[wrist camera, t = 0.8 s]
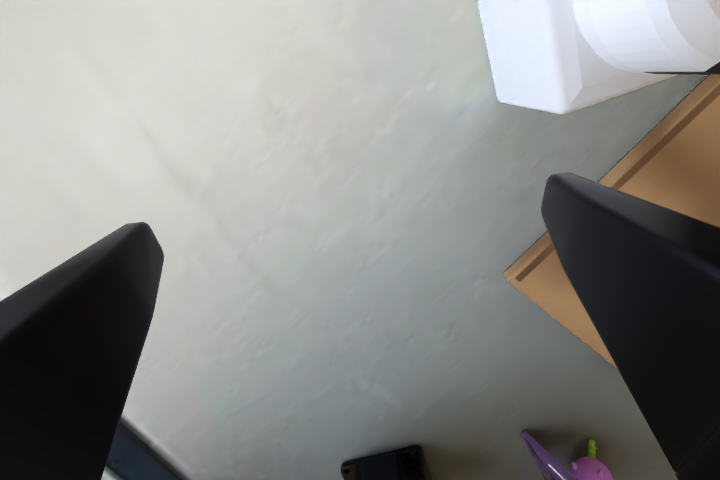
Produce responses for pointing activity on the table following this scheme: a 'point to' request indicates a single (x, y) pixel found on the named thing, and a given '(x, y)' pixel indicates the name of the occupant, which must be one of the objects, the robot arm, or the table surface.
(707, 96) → the wooden board
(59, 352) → the robot arm
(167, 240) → the table surface
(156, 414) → the table surface
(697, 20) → the medicine bottle
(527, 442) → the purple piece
